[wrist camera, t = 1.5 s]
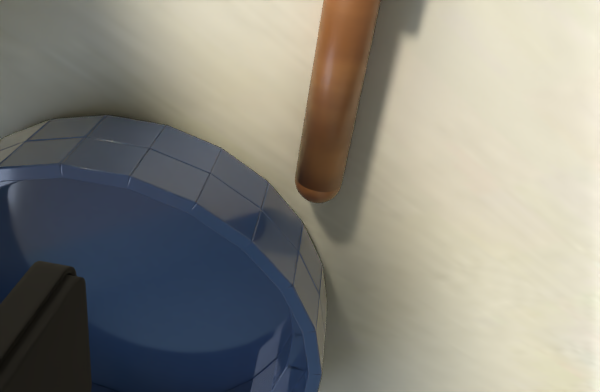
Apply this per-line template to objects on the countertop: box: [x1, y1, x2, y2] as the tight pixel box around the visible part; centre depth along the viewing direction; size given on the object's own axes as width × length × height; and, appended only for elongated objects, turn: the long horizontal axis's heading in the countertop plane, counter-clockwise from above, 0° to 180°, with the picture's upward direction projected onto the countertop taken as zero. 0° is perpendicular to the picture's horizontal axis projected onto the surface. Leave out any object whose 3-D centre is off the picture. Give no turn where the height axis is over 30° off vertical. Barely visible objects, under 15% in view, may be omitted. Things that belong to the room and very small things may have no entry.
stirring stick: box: [295, 0, 381, 203], centre depth 21 cm, size 14×3×2 cm, turn 172°
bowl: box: [0, 115, 327, 392], centre depth 28 cm, size 19×19×5 cm
